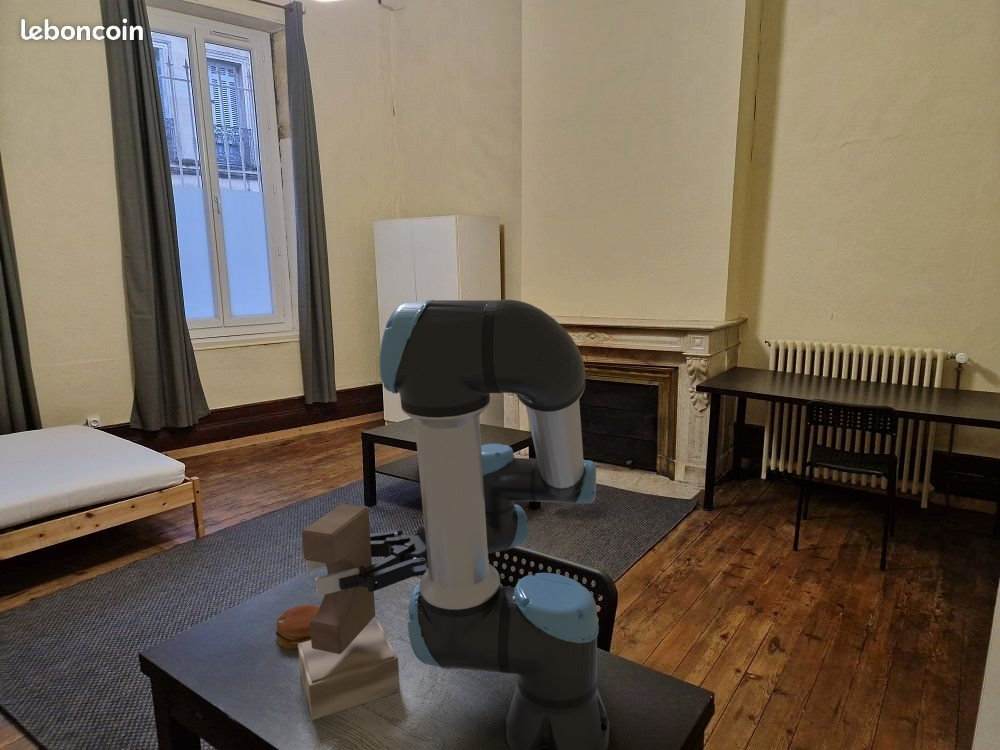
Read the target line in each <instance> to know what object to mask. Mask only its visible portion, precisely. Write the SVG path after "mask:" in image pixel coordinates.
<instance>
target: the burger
mask: <svg viewBox="0 0 1000 750" xmlns="http://www.w3.org/2000/svg"><path fill="white" fill-rule="evenodd" d="M319 608H320V605H316V604H303V605H302V604H301V605H296V606H293V607H290V608H289V609H287V610H286V611H285V612H283V614H281V615H280V616H279V617H278V618H277V619H276V628H275V635H276V642H277V644H278V645H279V646H280V647H281V648H283V649H285V650H286V649H288V650H294V649H298V643H302V642H306V641H309V640H311V633H310V621H311V620H312V619H313V617H314V616H315V615H316V614H317V612H318V610H319Z"/></svg>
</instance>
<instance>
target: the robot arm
mask: <svg viewBox="0 0 1000 750" xmlns="http://www.w3.org/2000/svg"><path fill="white" fill-rule="evenodd" d="M379 374H380V380H381V382H382V383H383V387H384V389H385V390H386V391H388V392H390V393H392V394H399V398H400V405H401V406H400V407H401V408H400V409H401V411H402V413H404V414H406V416H408V417H409V418H410V419H412V420H413V421H414V428H415V431H414V432H415V439H416V440H415V441H416V450H417V461H418V471H419V474H418V475H419V482H420V493H421V504H422V505H421V506H422V514H423V524H421V525H420V526H419V527H418V529H417V532H416V533H415V534H406V535H404V533H403V529H402V528H397V529H391V530H389V531H384V532H383V531H382V532H376V533H375V532H374V533H370V542H371V557H372V558H379V557H383V559H380V560H379V561H376V562H374V563H372V565H371V566H369V567H367V568H365V567H363V566H360V573H359V570H358V568H354V569H350V570H346V571H342V572H338V573H334V574H330V575H328V574H327V575H322V576H318V577H315V579H314V581H315V591H316V592H315V593H316V596H317V597H320V596H321V597H322V596H324V595H325V594H329V593H333V592H337V591H341V590H345V589H349V588H353V587H357V586H361V587H367V588H368V591H369V592H373V591H374V592H375V591H378V590H381V589H383V588H386V587H389V586H392V585H394V584H397V583H399V582H403V581H405V580H407V579H410V578H413V577H419V576H421V578H420V580H419V582H418V583H417V584H416V586H415V587H414V589H413V591H412V592H411V596H410V600H409V604H408V612H407V614H408V615H409V617H408V618H409V619H408V621H407V631H408V637H409V643H410V647H411V648H412V652H413V654H414V655H415V657H416V658H417V659H418V661H420V662H421V663H423V664H424V665H428V666H433V667H439V668H441V669H447V670H452V669H455V670H469V671H479V672H480V671H481V672H491V673H499V674H512V675H516V679H517V680H516V683H517V684H516V687H515V690H514V693H513V696H512V699H511V703H510V705H509V708H508V710H507V713H506V714H507V715H506V720H505V722H506V723H505V726H506V727H505V728H506V729H505V731H506V732H505V733H506V741H507V744H508V746H509V748H510V750H607V749H608V747H609V742H610V722H609V717H608V714H607V712H606V708H605V706H604V703H603V700H602V697H601V695H600V692H599V688H598V635H599V629H600V627H599V626H600V625H599V622H598V615H597V614H598V612H597V609H598V608H597V603H596V601H595V600H596V599H595V598H594V597H593V595H592V593H591V592H590V591H589V589H588V588H586V587H585V586H583V585H582V584H581V583H580V582H578V581H577V580H575V579H573V578H570V577H568V576H565V575H561V574H557V573H551V572H537V573H535V574H534V575H532V574H528V575H526V576H523V577H522V578H521V579H519V580H518V581H517V583H516V585H515V587H513V586H512V587H511V586H502V585H501V579H500V574H499V571H498V570H497V569H496V568H495V567H494V565H492V564H491V563H489V554H493V553H498V552H506V551H507V550H510V549H512V548H516V547H518V546H521V545H523V544H524V543H525V542H526V541H527V540H528V537H529V535H530V534H529V533H530V525H529V523H528V516H527V514H526V512H525V510H524V509H523V507H522V506H520V505H519V504H515V501H516V502H519V501H520V502H538V503H539V502H541V503H556V504H572V505H577V504H592V503H593V502H594V501H595V500H596V496H597V495H596V494H597V465H596V463H595V461H592V460H588V459H587V460H586V459H584V448H583V435H582V434H583V433H582V423H581V422H582V421H581V410H580V408H581V407H580V406H581V405H580V398H581V397H582V395H583V393H584V391H585V389H586V380H587V379H586V368H585V363H584V359H583V356H582V353H581V352H580V349H579V347H578V345H577V344H576V342H575V341H574V339H573V337H572V336H571V335H570V334H569V332H568V331H567V330H566V329H565V328H564V327H563V325H561V324H560V323H559V322H558V321H557V320H556V319H555V318H553V317H552V316H550V315H549V314H548V313H546V312H545V311H544V310H542V309H541V308H538V307H537V306H535V305H533V304H531V303H528V302H525V301H521V300H516V299H499V300H498V299H497V300H495V299H493V300H492V299H490V300H487V299H486V300H484V299H483V300H481V299H479V300H477V299H475V300H473V299H472V300H470V299H469V300H467V299H466V300H465V299H464V300H461V299H460V300H459V299H458V300H457V299H456V300H455V299H453V300H451V299H449V300H448V299H447V300H445V299H444V300H443V299H441V300H439V299H437V300H436V299H428V300H421V301H412V302H411V301H410V302H405V303H402V304H400V305H398V306H397V307H396V308H395V309H394V310H393V312H391V314H390V316H389V318H388V319H387V322H386V324H385V328H384V330H383V335H382V339H381V344H380V351H379ZM491 394H515V395H516V398H518V400H519V401H520V402H521V404H522V405H524V407H525V409H526V413H527V418H528V423H529V428H530V431H531V432H530V433H531V437H532V442H533V446H534V451H535V457H536V458H530V457H529V458H528V457H527V458H526V457H525V458H524V457H515V454H514V450H513V448H512V447H511V446H510V445H507V444H501V443H486V444H482V433H481V420H480V415H481V414H482V413H483V412H484V411H485V410H486V409H487V407H489V405H490V404H491V396H490V395H491ZM305 561H306V569H307V571H310V570H311V571H312V570H314V569H321V568H324V567H326V564H325V563H321V562H315V561H309V560H305Z"/></svg>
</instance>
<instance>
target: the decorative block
mask: <svg viewBox="0 0 1000 750" xmlns="http://www.w3.org/2000/svg"><path fill="white" fill-rule="evenodd" d="M369 514H370V512H369V508H368V507H367V506H361V505H351V504H343V503H340V504H339V505H337V506H335V508H333V509H332V510H330V511H329V512H328V513H326V514H325V515H324V516H322V517H320V518H319V519H317V520H316V521H314V522H313V523H312V524H310V525H308V526H307V527H306V528H304V529H303V530H302V531H301V540H302V551H303V552H302V553H303V559H304V560H305V561H306V560H309V561H315V562H321V563H325V564H326V566H325V567H326V571H327V575H330V574H334V573H338V572H342V571H346V570H350V569H354V568H358V570H359V573H360V566H363V567H365V568H367V567H369V566H371V565H373V562H372V561H373V560H372V559H373V557H371V542H370V534H371V529H370V516H369ZM375 604H376V603H375V591H373V592H369V591H368V588H367V587H361V586H357V587H353V588H349V589H345V590H341V591H337V592H333V593H329V594H325V595H323V599H322V602H321V603H320V605H319V607H320V608H319V610H318V612H317V614H316V615H315V616H314V617H313V619H312V620H311V621H310V633H311V644H312V648H313V649H317V650H322V651H327V652H332V653H336V654H341V653H342V652H343V651H344V650H345V649H346V648H347V647H348V646H349V644H350V643H351V642H352V641H353V640H354V639H355V638H356V637H357V636H358V635H359V633H360V632H361V631H362V630H363V629H364V628H365V627H366V626H367V624H370V622H371V621H373V619H374V618H375V617H376V608H375V607H376V606H375Z"/></svg>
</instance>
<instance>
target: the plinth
mask: <svg viewBox="0 0 1000 750" xmlns="http://www.w3.org/2000/svg"><path fill="white" fill-rule="evenodd" d="M297 651H298V660H299V661H298V662H299V672H300V680H301V681H302V686H303V690H304V694H305V698H306V702H307V706H308V709H309V712H310V713H309V714H310V716H311V720H312V721H315V720H318V719H320V718H321V719H322V718H324V717H327V716H329V715H333V714H335V713H338V712H341V711H345V710H348V709H351V708H354V707H358V706H360V705H363V704H366V703H369V702H371V701H374V700H375V701H376V700H377V699H380V698H384V697H387V696H389V695H388V694H390V695H392V694H391V693H393V694H395V693H394V692H396V693H399V692H401V688H400V670H399V669H400V668H399V667H400V666H399V658H398V655H397V654H396V651H395V650H394V649H393V646H392V645H391V643H390V641H389V639H388V636H387V635H386V632H385V631H384V629H383V628H382V626H381V624H380V621H375V622H371V623H368V624H367V626H366V627H365V628H364V629H363V630H362V631H361V632H360V633H359V635H358V636H357V637H356V638H355V639H354V640H353V641H352V642H351V643H350V644H349V646H348V647H347V648H346V649H345V650H344V651H343V652H342V653H341V654H336V653H332V652H327V651H322V650H317V649H313V648H312V644H311V640H309V641H306V642H302V643H298V648H297ZM398 691H399V692H398ZM386 695H387V696H386Z"/></svg>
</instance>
